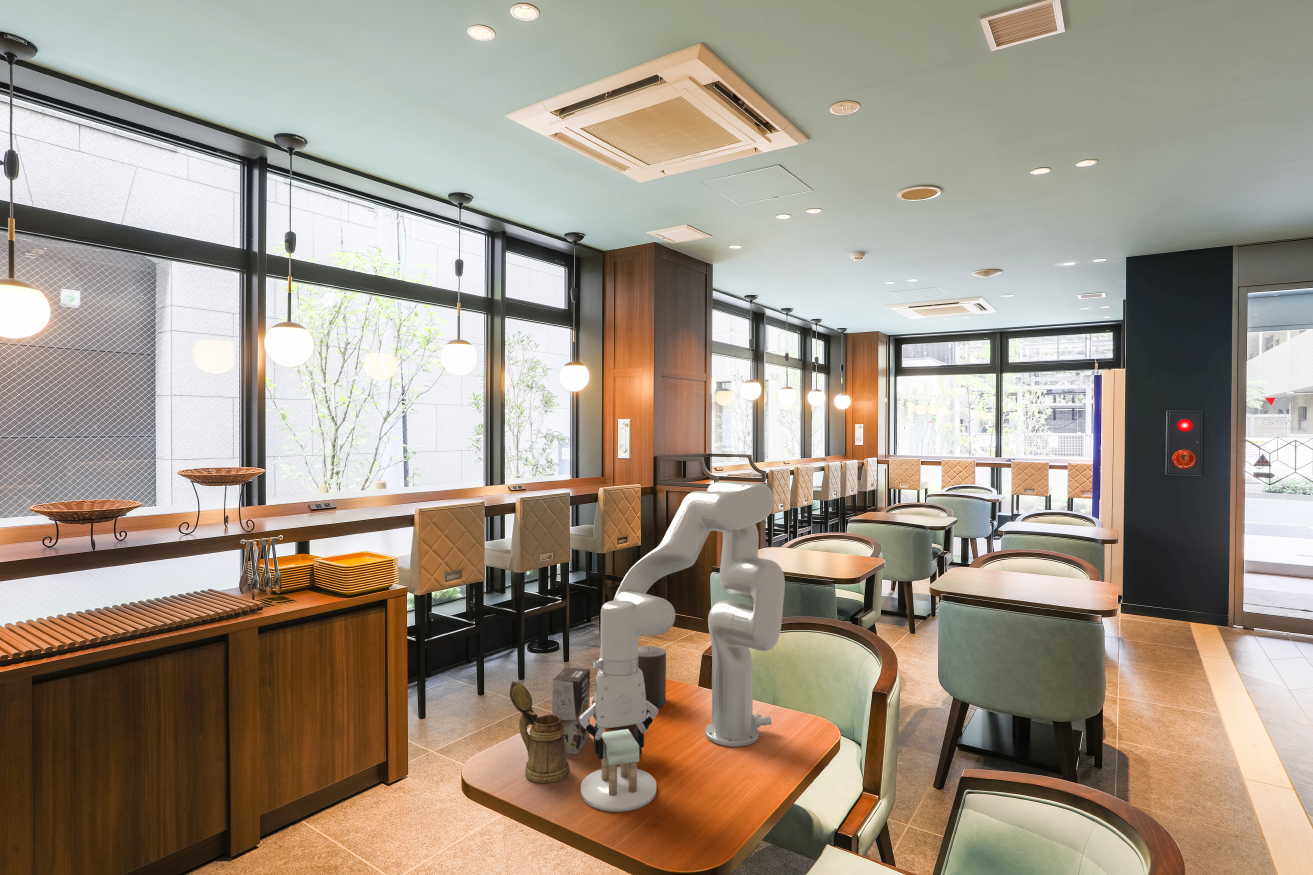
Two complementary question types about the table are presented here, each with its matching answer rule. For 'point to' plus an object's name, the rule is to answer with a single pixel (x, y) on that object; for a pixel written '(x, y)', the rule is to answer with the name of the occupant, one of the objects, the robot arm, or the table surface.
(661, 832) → the table surface
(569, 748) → the coffee box
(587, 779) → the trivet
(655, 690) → the pillar candle
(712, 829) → the table surface
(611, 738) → the mint green stool
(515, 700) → the wooden mug
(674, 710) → the table surface
